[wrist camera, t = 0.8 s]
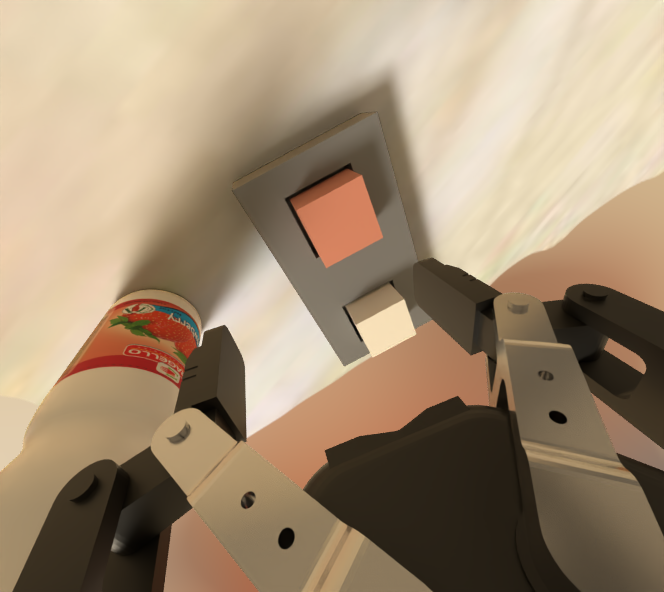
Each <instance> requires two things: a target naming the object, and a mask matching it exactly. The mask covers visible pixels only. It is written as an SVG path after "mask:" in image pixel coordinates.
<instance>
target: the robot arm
mask: <svg viewBox="0 0 664 592" xmlns="http://www.w3.org/2000/svg"><path fill="white" fill-rule="evenodd" d="M413 283H414V297H415V300H416V302H417V304H418V306H419V307H420V308H421V309H422V310H423V311H424V312H425V313H426V314H427V315H428V316H430V317H431V318H432V319H433V320H434V321H435V322H436V323H437V324H438V325H439V326H440V327H441V328H442V329H443V330H445V332H447V333H448V334H449V335H450V336H451V337H452V338H453V339H454V340H455V341H456V342H458V344H459V345H460V346H461V347H462V348H464V349H465V350H466V351H467V352H468V353H469V354H470V355H473V354H476V353H478V352H481V351H484V352H485V353H486V373H487V384H488V395H489V406H482V405H468V406H466V405H465V404H464V403H463V401H462V400H461V399H460V398H459V397H458V396H457V397H454V398H452V399H449V400H447V401H445V402H442V403H439V404H437V405H435V406H432V407H430V408H427V409H426V410H425V411H423V412H422V413H421V414H419V415H418V416H417V417H416V418H414V419H413V420H412V421H411V422H409V423H408V424H407V425H405V426H404V427H403V428H402V429H400V430H398V431H394V432H387V433H380V434H372V435H365V436H359V437H356V438H354V439H351V440H349V441H347V442H344V443H342V444H339V445H337V446H335V447H332V448H329V449H327V450H325V453H326V456H327V460H328V462H327V463H326V464H325V465H323V466H322V467H321V468H320V469H319V470H318V471H317V472H316V473H315V474H314V475H313V477H312V478H311V479H310V480H309V481H308V483H307V485H306V486H305V487H304V489H303V490H302V489H301V488H300V487H299V486H297V485H296V484H295V483H294V482H293V481H291V480H290V479H289V478H288V477H286V476H285V475H284V474H283V473H282V472H280V471H279V470H278V469H277V468H275V467H274V466H273V465H272V464H270V463H269V462H268V461H267V460H265V459H264V458H263V457H262V456H261V455H259V454H258V453H257V452H256V451H254V450H253V449H252V448H251V447H250V446H248V445H247V444H246V443H245V442H246V398H245V366H244V361H243V358H242V355H241V353H240V351H239V349H238V347H237V345H236V343H235V341H234V339H233V338H232V336H231V334H230V332H229V330H228V328H227V327H226V326H225V325H223V326H220V327H217V328H213V329H210V330H207V331H205V332H204V335H203V341H202V346H200V347H197V348H194V350H193V351H192V353H191V354H190V355H189V357H188V358H187V360H186V364H185V368H184V373H183V377H182V382H181V385H180V389H179V393H178V398H177V402H176V406H175V410H174V414H173V415H172V416H170V417H169V418H168V419H166V420H165V421H164V422H163V423H162V424H161V425H160V426H159V428H158V429H157V430H156V432H155V434H154V436H153V438H152V441H151V446H149V447H148V448H146V449H145V450H143V451H142V452H140V453H139V454H137V455H135V456H134V457H132V458H131V459H129V460H128V461H126V462H125V463H123V464H121V465H120V466H119V465H118V464H117V463H115V462H114V461H113V460H110V459H104V460H100V461H97V462H94V463H92V464H90V465H89V466H87V467H85V468H84V469H82V470H81V471H80V472H78V473H77V474H76V475H75V476H74V477H73V478H72V479H70V480H69V481H68V483H67V484H66V485H65V486H64V487H63V488H62V490H61V491H60V492H59V494H58V495H57V497H56V499H55V501H54V502H53V505H52V507H51V509H50V511H49V513H48V515H47V518H46V520H45V522H44V524H43V526H42V528H41V531H40V533H39V535H38V537H37V539H36V541H35V544H34V546H33V548H32V550H31V552H30V554H29V557H28V559H27V561H26V563H25V565H24V567H23V570H22V572H21V574H20V576H19V578H18V580H17V583H16V585H15V587H14V589H13V591H12V592H163V590H164V582H165V574H166V566H167V558H168V550H169V542H170V533H171V526H172V523H174V522H175V521H176V520H177V519H179V518H180V517H181V516H183V515H184V514H185V513H186V512H188V511H189V510H190V509H192V508H194V510H195V511H196V512H197V513H198V515H199V516H200V517H201V519H202V520H203V521H204V522H205V524H206V525H207V526H208V527H209V528H210V530H211V531H212V532H213V534H214V535H215V536H216V538H217V539H218V540H219V541H220V543H221V544H222V545H223V546H224V548H225V549H226V550H227V551H228V553H229V554H230V555H231V557H232V558H233V559H234V560H235V562H236V563H237V564H238V565H239V567H240V568H241V569H242V570H243V572H244V573H245V574H246V576H247V577H248V578H249V579H250V581H251V582H252V583H253V584H254V586H255V587H256V588H257V590H258V591H259V592H664V471H662V470H660V469H657V468H654V467H652V466H649V465H647V464H644V463H642V462H639V461H636V460H634V459H631V458H628V457H626V456H623V455H621V454H618V453H616V452H615V449H614V447H613V445H612V442H611V440H610V438H609V435H608V433H607V430H606V428H605V425H604V423H603V421H602V418H601V416H600V413H599V411H598V409H597V406H596V404H595V401H594V399H593V397H592V394H594V395H595V396H596V397H597V398H599V399H600V400H601V401H603V402H604V403H605V404H606V405H608V406H609V407H610V408H611V409H613V410H614V411H615V412H617V413H618V414H619V415H621V416H622V417H623V418H624V419H626V420H627V421H628V422H629V423H631V424H632V425H633V426H634V427H636V428H637V429H638V430H640V431H641V432H642V433H643V434H645V435H646V436H647V437H649V438H650V439H651V440H652V441H654V442H655V443H656V444H657V445H659V446H660V447H661V448H663V449H664V312H663V311H661V310H659V309H656V308H654V307H652V306H650V305H647V304H645V303H643V302H641V301H638V300H636V299H634V298H631V297H629V296H627V295H625V294H622V293H620V292H618V291H616V290H613V289H611V288H608V287H604V286H600V285H594V284H578V285H573V286H571V287H569V288H568V289H567V290H566V293H565V296H564V299H563V300H556V301H548V302H541V301H540V300H538V299H537V298H535V297H533V296H530V295H527V294H523V293H506V294H502V293H500V292H498V291H497V290H495V289H493V288H492V287H490V286H488V285H487V284H485V283H483V282H482V281H480V280H478V279H477V280H476V278H475V277H473V276H472V275H468V273H466V272H465V271H463V270H461V269H460V268H457V267H453V266H450V265H444V264H442V263H440V262H439V261H437V260H436V259H434V258H429V259H426V260H423V261H419V262H416V263H414V265H413ZM608 338H610V339H612V340H614V341H615V342H617V343H619V344H621V345H623V346H624V347H626V348H627V349H629V350H631V351H633V352H634V353H636V354H637V355H639V356H640V357H641V358H642V359H643V361H644V362H645V364H646V372H645V374H642V373H640V372H639V371H637V370H635V369H634V368H632V367H631V366H629V365H628V364H626V363H625V362H623V361H621V360H620V359H618V358H617V357H615V356H613V355H612V354H610V353H609V352H607V351H605V350H604V347H605V345H606V343H607V341H608ZM591 393H592V394H591Z"/></svg>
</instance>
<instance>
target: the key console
mask: <svg viewBox="0 0 664 592" xmlns="http://www.w3.org/2000/svg"><path fill="white" fill-rule="evenodd" d="M345 169H349V170H351V171H354V172H356V173H358V174H361V175H362V177H363V180H364V183H365V186H366V189H367V192H368V194H369V197H370V200H371V203H372V206H373V209H374V212H375V215H376V218H377V221H378V224H379V227H380V230H381V232H382V235H383V238H382V239H380V240H378V241H376V242H374V243H372V244H370V245H369V246H367V247H365V248H363V249H361V250H359V251H357V252H355V253H354V254H352V255H350V256H348V257H346V258H344V259H342V260H341V261H339V262H337V263H335V264H333V265H331V266H329V267H328V268H326V267H325V265H324V263H323V262H322V260H321V258H320V256H319V255H318V253H317V251H316V249H315V247H314V245H313V243H312V241H311V240H310V238H309V236H308V234H307V232H306V230H305V228H304V226H303V224H302V222H301V220H300V219H299V217H298V215H297V213H296V211H295V209H294V207H293V205H292V203H291V201H290V199H291V198H293V197H295V196H297V195H298V194H300V193H302V192H304V191H306V190H308V189H310V188H311V187H313V186H315V185H317V184H319V183H321V182H322V181H324V180H326V179H328V178H330V177H332V176H334V175H335V174H337V173H339V172H341V171H343V170H345ZM232 191H233V193H234V195H235V196H236V198H237V199H238V201H239V202H240V204H241V206H242V207H243V209H244V210H245V212H246V213H247V215H248V216H249V218H250V220H251V221H252V223H253V224H254V226H255V227H256V229H257V231H258V232H259V234H260V235H261V237H262V238H263V240H264V242H265V243H266V245H267V246H268V248H269V249H270V251H271V252H272V254H273V256H274V257H275V259H276V260H277V262H278V263H279V265H280V267H281V268H282V270H283V271H284V273H285V274H286V276H287V278H288V279H289V281H290V282H291V284H292V285H293V287H294V289H295V290H296V292H297V293H298V295H299V296H300V298H301V299H302V301H303V303H304V304H305V306H306V307H307V309H308V310H309V312H310V314H311V315H312V317H313V318H314V320H315V321H316V323H317V325H318V326H319V328H320V329H321V331H322V332H323V334H324V335H325V337H326V339H327V340H328V342H329V343H330V345H331V346H332V348H333V350H334V351H335V353H336V354H337V356H338V357H339V359H340V361H341V362H342V364H343V365H344V366H346V365H348V364H350V363H352V362H354V361H356V360H357V359H359V358H361V357H363V356H365V355H367V354H369V353H370V352H369V350H368V348H367V346H366V344H365V343H364V341H363V339H362V337H361V335H360V333H359V331H358V330H357V328H356V326H355V324H354V322H353V320H352V318H351V316H350V314H349V312H348V310H347V308H346V307H345V305H347V304H348V303H350V302H352V301H354V300H356V299H358V298H360V297H361V296H363V295H365V294H367V293H369V292H371V291H373V290H375V289H376V288H378V287H380V286H382V285H384V284H386V283H388V282H389V283H390V284H391V285H392V286H393V287H394V288H395V290H396V291H397V292H398V293H399V294H400V295H401V296H402V297H403V298H404V300H405V303H406V306H407V308H408V311H409V314H410V317H411V320H412V323H413V326H414V329H416V328H417V327H419V326H421V325H423V324H425V323H427V322H429V321H430V320H433V319H432V318H431V317H430V316H428V315H427V314H426V313H425V312H424V311H423V310H422V309H421V308H420V307H419V306H418V304H417V302H416V300H415V297H414V283H413V265H414V263H416V262H418V259H417V255H416V252H415V248H414V244H413V241H412V237H411V233H410V230H409V226H408V222H407V219H406V215H405V211H404V208H403V204H402V200H401V197H400V193H399V189H398V186H397V182H396V178H395V175H394V171H393V167H392V164H391V160H390V156H389V153H388V149H387V145H386V142H385V138H384V134H383V131H382V127H381V123H380V120H379V116H378V112H369V113H360V114H359V115H357V116H355V117H353V118H351V119H349V120H347V121H346V122H344V123H342V124H340V125H338V126H336V127H335V128H333V129H331V130H329V131H327V132H325V133H324V134H322V135H320V136H318V137H316V138H314V139H312V140H311V141H309V142H307V143H305V144H303V145H301V146H300V147H298V148H296V149H294V150H292V151H290V152H289V153H287V154H285V155H283V156H281V157H279V158H277V159H276V160H274V161H272V162H270V163H268V164H266V165H265V166H263V167H261V168H259V169H257V170H255V171H254V172H252V173H250V174H248V175H246V176H244V177H242V178H241V179H239V180H237V181H235V182H233V188H232Z"/></svg>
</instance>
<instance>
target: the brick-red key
mask: <svg viewBox="0 0 664 592" xmlns="http://www.w3.org/2000/svg"><path fill="white" fill-rule="evenodd" d="M290 201H291V203H292V205H293V207H294V209H295V211H296V213H297V215H298V217H299V219H300V220H301V222H302V224H303V226H304V228H305V230H306V232H307V234H308V236H309V238H310V240H311V241H312V243H313V245H314V247H315V249H316V251H317V253H318V255H319V256H320V258H321V260H322V262H323V263H324V265H325V267H326V268H328V267H329V266H331V265H333V264H335V263H337V262H339V261H341V260H342V259H344V258H346V257H348V256H350V255H352V254H354V253H355V252H357V251H359V250H361V249H363V248H365V247H367V246H369V245H370V244H372V243H374V242H376V241H378V240H380V239H382V238H383V235H382V232H381V230H380V227H379V224H378V221H377V218H376V215H375V212H374V209H373V206H372V203H371V200H370V197H369V194H368V192H367V189H366V186H365V183H364V180H363V177H362V175H361V174H358V173H356V172H354V171H351V170H349V169H345V170H343V171H341V172H339V173H337V174H335V175H334V176H332V177H330V178H328V179H326V180H324V181H322V182H321V183H319V184H317V185H315V186H313V187H311V188H310V189H308V190H306V191H304V192H302V193H300V194H298V195H297V196H295V197H293V198H291V199H290Z"/></svg>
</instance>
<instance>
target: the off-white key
mask: <svg viewBox="0 0 664 592" xmlns="http://www.w3.org/2000/svg"><path fill="white" fill-rule="evenodd" d="M345 307H346V308H347V310H348V312H349V314H350V316H351V318H352V320H353V322H354V324H355V326H356V328H357V330H358V331H359V333H360V335H361V337H362V339H363V341H364V343H365V344H366V346H367V348H368V350H369V352H370V353H371V355H372V357H374V356H376V355H378V354H380V353H382V352H384V351H386V350H388V349H390V348H391V347H393V346H395V345H397V344H399V343H401V342H403V341H405V340H406V339H408V338H410V337H412V336H414V335H416V332H415V329H414V326H413V323H412V320H411V317H410V314H409V311H408V308H407V306H406V303H405V300H404V298H403V297H402V296H401V295H400V294H399V293H398V292H397V291H396V290H395V288H394V287H393V286H392V285H391V284H390V283H389V282H388V283H386V284H384V285H382V286H380V287H378V288H376V289H375V290H373V291H371V292H369V293H367V294H365V295H363V296H361V297H360V298H358V299H356V300H354V301H352V302H350V303H348V304H347V305H345Z"/></svg>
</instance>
